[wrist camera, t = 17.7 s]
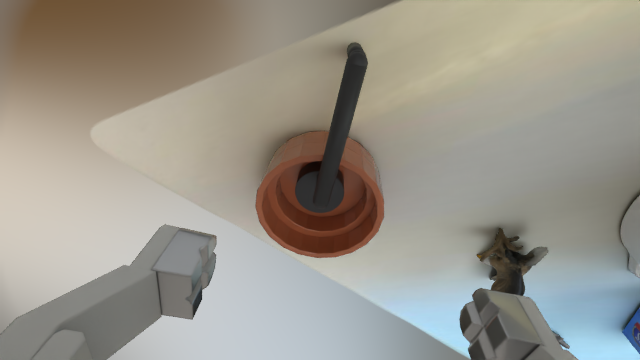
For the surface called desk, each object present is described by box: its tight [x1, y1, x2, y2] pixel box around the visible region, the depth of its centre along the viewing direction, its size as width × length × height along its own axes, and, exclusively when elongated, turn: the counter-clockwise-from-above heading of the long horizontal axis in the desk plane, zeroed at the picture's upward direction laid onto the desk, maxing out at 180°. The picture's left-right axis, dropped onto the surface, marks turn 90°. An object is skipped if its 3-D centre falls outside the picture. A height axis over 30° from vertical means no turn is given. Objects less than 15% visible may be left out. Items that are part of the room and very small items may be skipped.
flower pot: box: [256, 131, 384, 258], centre depth 30 cm, size 12×12×6 cm
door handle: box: [295, 42, 368, 213], centre depth 26 cm, size 16×5×7 cm, turn 168°
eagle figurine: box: [477, 228, 549, 296], centre depth 34 cm, size 8×7×9 cm
